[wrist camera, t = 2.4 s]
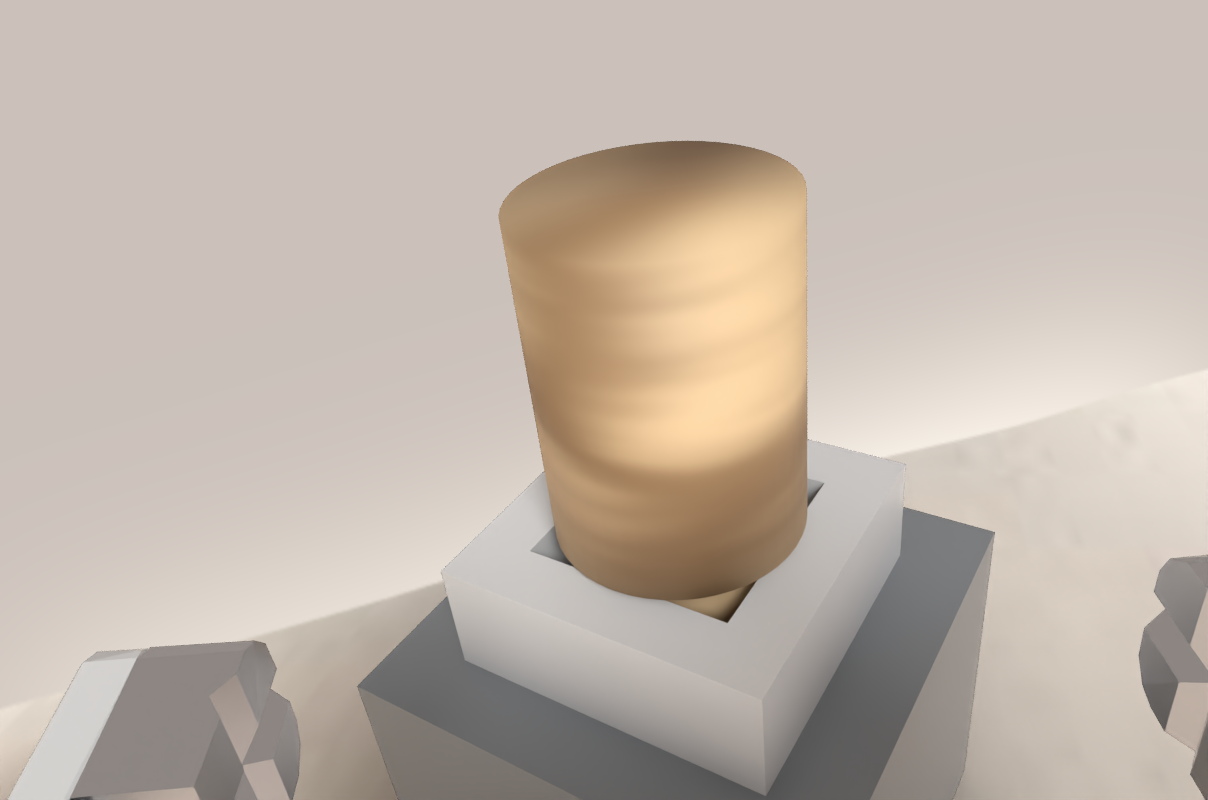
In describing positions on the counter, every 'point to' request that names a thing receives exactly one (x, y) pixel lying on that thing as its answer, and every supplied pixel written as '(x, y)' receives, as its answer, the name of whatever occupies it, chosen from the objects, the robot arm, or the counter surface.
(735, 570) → the stopper
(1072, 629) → the counter surface
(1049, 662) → the counter surface
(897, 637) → the grey box with opening
